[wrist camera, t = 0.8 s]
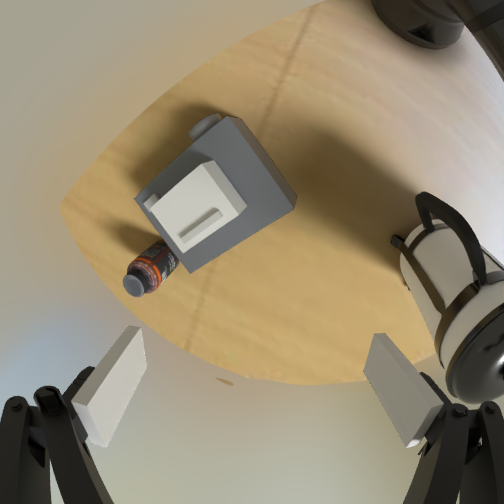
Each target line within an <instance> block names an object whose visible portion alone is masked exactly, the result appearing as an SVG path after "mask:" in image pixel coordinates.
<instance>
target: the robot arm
mask: <svg viewBox="0 0 504 504" xmlns="http://www.w3.org/2000/svg"><path fill="white" fill-rule="evenodd" d="M371 1H372V4H373V7H374V9H375V11H376V12H377V14H378V15H379V17H380V18H381V19H382V20H383V22H384V23H385V24H386V25H387V26H388V27H389V28H390V29H391V30H393V31H394V32H395V33H396V34H398V35H399V36H401V37H402V38H404V39H405V40H407V41H409V42H411V43H413V44H415V45H418V46H421V47H424V48H429V49H442V48H445V47H448V46H449V45H451V44H453V43H454V42H456V41H457V40H458V39H459V37H460V35H461V33H462V30H463V28H464V25H465V26H466V27H467V28H468V29H469V31H470V32H471V33H472V35H473V36H474V37H475V39H476V40H477V41H478V43H479V44H480V46H481V47H482V48H483V50H484V51H485V53H486V54H487V56H488V57H489V59H490V60H491V62H492V63H493V65H494V66H495V68H496V69H497V71H498V73H499V75H500V76H501V78H502V80H503V82H504V0H371ZM146 368H147V362H146V357H145V351H144V345H143V338H142V331H141V327H135V326H128V327H127V328H126V330H125V331H124V332H123V333H122V335H121V336H120V337H119V338H118V340H117V341H116V342H115V343H114V345H113V346H112V347H111V349H110V350H109V351H108V353H107V354H106V355H105V356H104V358H103V359H102V360H101V361H100V363H99V364H98V365H97V367H96V368H95V367H91V366H89V367H87V368H85V369H84V370H83V371H81V372H80V373H79V375H78V376H77V378H76V379H75V380H74V381H73V383H72V384H71V385H70V386H69V387H68V389H67V390H66V391H65V392H64V394H63V395H61V393H60V391H59V389H57V388H56V387H54V386H44V387H41V388H39V389H38V390H36V392H35V393H34V397H33V398H34V400H35V402H36V404H37V406H38V407H36V406H29V404H28V403H27V401H26V399H25V398H23V397H21V396H14V397H11V398H9V399H8V400H7V401H6V403H5V406H4V409H3V413H2V417H1V421H0V504H52V503H51V491H50V460H51V464H52V467H53V471H54V474H55V478H56V481H57V484H58V487H59V490H60V493H61V496H62V498H63V501H64V504H114V503H113V501H112V499H111V498H110V495H109V493H108V491H107V489H106V487H105V485H104V483H103V481H102V479H101V477H100V475H99V473H98V471H97V468H96V466H95V464H94V461H93V459H92V457H91V454H90V452H89V449H88V447H87V444H86V442H85V440H86V438H87V437H88V436H89V438H90V440H91V442H92V443H93V444H96V445H99V446H102V447H105V448H107V446H108V444H109V442H110V440H111V438H112V436H113V434H114V432H115V430H116V427H117V426H118V424H119V421H120V419H121V417H122V415H123V413H124V411H125V409H126V407H127V405H128V403H129V401H130V399H131V397H132V395H133V393H134V391H135V389H136V387H137V385H138V384H139V381H140V380H141V378H142V376H143V374H144V372H145V370H146ZM363 372H364V374H365V376H366V377H367V379H368V381H369V382H370V384H371V386H372V388H373V389H374V391H375V393H376V395H377V396H378V398H379V400H380V402H381V403H382V405H383V407H384V408H385V410H386V412H387V414H388V416H389V418H390V419H391V421H392V423H393V425H394V427H395V428H396V430H397V432H398V434H399V436H400V437H401V439H402V441H403V443H404V445H405V447H406V448H408V447H412V446H414V445H418V444H419V443H420V442H421V440H422V439H423V437H424V436H425V438H426V439H427V442H426V443H425V445H424V446H423V447H422V449H421V450H420V452H419V453H418V455H420V454H421V452H422V454H421V458H420V461H419V464H418V467H417V469H416V472H415V475H414V478H413V480H412V483H411V485H410V488H409V490H408V493H407V495H406V497H405V500H404V502H403V504H456V501H457V497H458V493H459V489H460V504H504V419H503V416H502V413H501V410H500V408H499V406H498V405H497V404H496V403H495V402H493V401H484V402H483V403H482V404H481V406H480V408H479V409H476V410H468V408H467V407H465V406H464V405H462V404H457V403H455V404H452V403H451V401H450V400H449V399H448V398H447V396H446V395H445V394H444V393H443V392H442V390H441V389H439V387H438V386H437V385H436V384H435V382H434V381H433V380H432V379H431V377H429V376H428V375H426V374H425V373H423V372H420V373H419V372H418V371H417V370H416V369H415V368H414V366H413V365H412V364H411V363H410V362H409V360H408V359H407V358H406V357H405V356H404V354H403V353H402V352H401V351H400V350H399V349H398V347H397V346H396V345H395V344H394V343H393V342H392V341H391V339H390V338H389V337H388V336H387V335H386V334H385V333H379V334H374V335H373V339H372V343H371V347H370V350H369V354H368V357H367V361H366V364H365V367H364V370H363ZM481 440H482V445H481V443H480V441H481Z"/></svg>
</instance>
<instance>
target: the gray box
mask: <svg viewBox="0 0 504 504" xmlns="http://www.w3.org/2000/svg"><path fill="white" fill-rule="evenodd" d="M188 135H189V137H190V138H191V139H192V141H193V142H194V143H193V144H192V145H191V146H189V147H188V148H187V149H186V150H185V151H184V152H183V153H181V154H180V155H179V156H178V157H177V158H176V159H175V160H174V161H172V162H171V163H170V164H169V165H168V166H167V167H166V168H165V169H164V170H163V171H162V172H161V173H159V174H158V175H157V176H156V177H155V178H154V179H153V180H152V181H151V182H150V183H149V184H148V185H147V186H146V187H145V188H144V189H143V190H142V191H141V192H140V193H139V194H138V195H137V196H136V197H135V198H134V199H135V201H136V202H137V204H138V205H139V206H140V208H141V209H142V211H143V212H144V213H145V215H146V216H147V218H148V219H149V220H150V222H151V223H152V224H153V226H154V227H155V229H156V230H157V231H158V233H159V234H160V235H161V237H162V238H163V239H164V241H165V242H166V243H167V245H168V246H169V247H170V248H171V250H172V251H173V252H174V254H175V255H176V256H177V258H178V259H179V260H180V261H181V263H182V264H183V265H184V267H185V268H186V269H187V270H188V272H189V273H190V274H191V273H192V272H194V271H195V270H197V269H199V268H200V267H202V266H203V265H205V264H207V263H208V262H210V261H211V260H213V259H214V258H216V257H218V256H219V255H221V254H222V253H224V252H226V251H227V250H229V249H230V248H232V247H234V246H235V245H237V244H238V243H240V242H242V241H243V240H245V239H246V238H248V237H250V236H251V235H253V234H255V233H256V232H258V231H259V230H261V229H263V228H264V227H266V226H267V225H269V224H271V223H272V222H274V221H276V220H277V219H279V218H280V217H282V216H284V215H285V214H287V213H289V212H290V211H292V210H294V208H295V204H296V199H297V196H296V194H295V193H294V191H293V190H292V188H291V187H290V185H289V184H288V183H287V181H286V180H285V178H284V177H283V175H282V174H281V172H280V171H279V170H278V168H277V167H276V165H275V164H274V162H273V161H272V160H271V158H270V157H269V155H268V154H267V153H266V151H265V150H264V149H263V147H262V146H261V144H260V143H259V142H258V140H257V139H256V138H255V136H254V135H253V134H252V132H251V131H250V130H249V128H248V127H247V126H246V124H245V123H244V122H243V120H242V119H239V118H234V117H230V116H226V117H225V118H224V119H222V118H221V117H220V115H219V114H218V113H214V114H211V115H209V116H207V117H205V118H203V119H202V120H200V121H199V122H198V123H197V124H195V126H193V127H192V129H191V130H190V131H189V133H188ZM213 160H214V161H215V162H216V164H217V165H218V166H219V168H220V169H221V170H222V172H223V173H224V175H225V176H226V177H227V179H228V180H229V181H230V183H231V184H232V185H233V187H234V188H235V190H236V191H237V192H238V194H239V195H240V197H241V198H242V199H243V201H244V202H245V203H246V205H247V207H246V208H245V209H244V210H243V211H242V212H241V213H240V215H238V216H237V217H235V218H234V219H232V220H231V221H229V222H228V223H227V224H225V225H224V226H222V227H221V228H219V229H218V230H216V231H215V232H213V233H212V234H210V235H209V236H208V237H206V238H205V239H203V240H202V241H200V242H199V243H197V244H196V245H195V246H193V247H192V248H190V249H189V250H187V251H186V252H185V253H182V251H181V250H180V249H179V248H178V246H177V245H176V244H175V242H174V241H173V240H172V238H171V237H170V236H169V234H168V233H167V232H166V230H165V229H164V228H163V226H162V225H161V224H160V222H159V221H158V219H157V218H156V217H155V215H154V214H153V213H152V211H151V210H150V208H151V207H152V206H153V205H154V204H155V203H156V202H158V201H159V200H160V199H161V198H162V197H163V196H164V195H165V194H166V193H168V192H169V191H170V190H171V189H172V188H173V187H174V186H176V185H177V184H178V183H179V182H180V181H181V180H183V179H184V178H185V177H186V176H187V175H188V174H190V173H191V172H192V171H193V170H194V169H196V168H197V167H198V166H199V165H201V164H202V163H206V162H209V161H213Z"/></svg>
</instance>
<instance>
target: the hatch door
mask: <svg viewBox="0 0 504 504" xmlns="http://www.w3.org/2000/svg"><path fill="white" fill-rule="evenodd" d="M246 207H247V205H246V203H245V202H244V201H243V199H242V198H241V197H240V195H239V194H238V192H237V191H236V190H235V188H234V187H233V185H232V184H231V183H230V181H229V180H228V179H227V177H226V176H225V175H224V173H223V172H222V170H221V169H220V168H219V166H218V165H217V164H216V162H215V161H214V160H213V161H209V162H206V163H202V164H201V165H199V166H198V167H197V168H196V169H194V170H193V171H192V172H191V173H190V174H188V175H187V176H186V177H185V178H184V179H183V180H181V181H180V182H179V183H178V184H177V185H176V186H174V187H173V188H172V189H171V190H170V191H169V192H168V193H166V194H165V195H164V196H163V197H162V198H161V199H160V200H159V201H158V202H156V203H155V204H154V205H153V206H152V207H151V208H150V210H151V211H152V213H153V214H154V215H155V217H156V218H157V219H158V221H159V222H160V224H161V225H162V226H163V228H164V229H165V230H166V232H167V233H168V234H169V236H170V237H171V238H172V240H173V241H174V242H175V244H176V245H177V246H178V248H179V249H180V250H181V251H182V253H185V252H186V251H187V250H189V249H190V248H192V247H193V246H195V245H196V244H197V243H199V242H200V241H202V240H203V239H205V238H206V237H208V236H209V235H210V234H212V233H213V232H215V231H216V230H218V229H219V228H221V227H222V226H224V225H225V224H227V223H228V222H229V221H231V220H232V219H234V218H235V217H237V216H238V215H240V213H241V212H242V211H243V210H244V209H245V208H246Z"/></svg>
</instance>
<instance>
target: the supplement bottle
mask: <svg viewBox="0 0 504 504" xmlns="http://www.w3.org/2000/svg"><path fill="white" fill-rule="evenodd" d="M178 264H179V259H178V258H177V256H176V255H175V254H174V252H173V251H172V250H171V248H170V247H169V246H168V245H167V243H166V242H165V241H158V242H156V243H154V244H153V245H152V246H150V247H149V248H148V249H147V250H146V251H144V252H143V253H142V254H141V255H139V256H138V257H137V258H136V259H135V260H134V261H132V262H131V263H130V264H129V266H128V269H127V275H125V277H124V278H123V285H124V288H125V290H126V291H127V292H128V293H129V294H130V295H132V296H134V297H141V296H142V295H143V294H144V293H152V292H154V291H155V290H156V289H157V288H158V287H159V286H160V285H161V284H162V282H163V281H164V280H165V279H166V278H167V277H168V276H169V275H170V274H171V273H172V272H173V270H174V269H175V268H176V267H177V266H178Z"/></svg>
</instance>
